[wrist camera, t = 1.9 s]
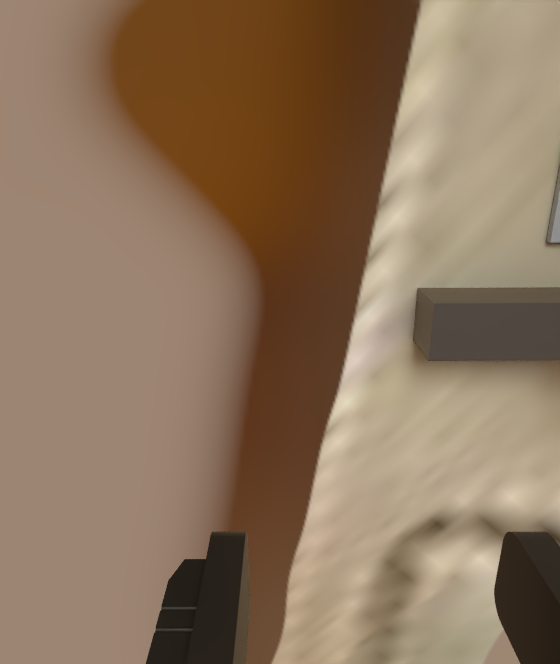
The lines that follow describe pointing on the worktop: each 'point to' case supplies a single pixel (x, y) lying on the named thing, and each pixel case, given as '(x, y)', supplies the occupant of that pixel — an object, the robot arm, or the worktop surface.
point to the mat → (555, 216)
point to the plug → (488, 323)
